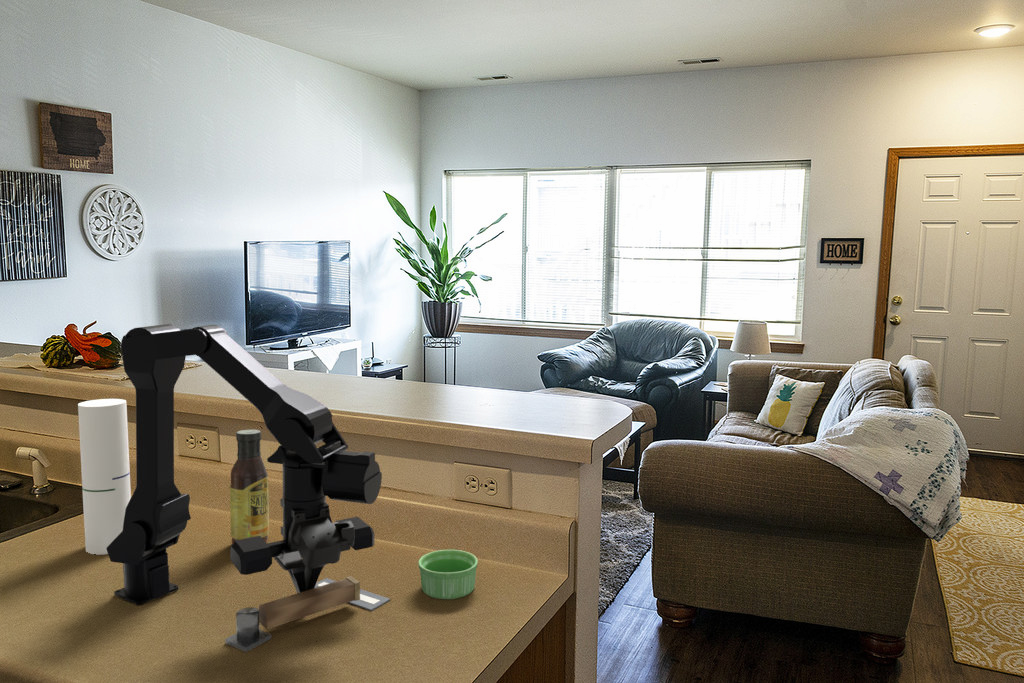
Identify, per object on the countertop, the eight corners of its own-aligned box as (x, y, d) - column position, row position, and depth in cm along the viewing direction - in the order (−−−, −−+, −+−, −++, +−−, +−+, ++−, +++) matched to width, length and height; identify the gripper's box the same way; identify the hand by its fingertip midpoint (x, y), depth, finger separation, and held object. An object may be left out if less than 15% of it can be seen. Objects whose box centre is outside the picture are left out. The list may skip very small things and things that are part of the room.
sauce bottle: (257, 552, 126) (253, 437, 124) (223, 549, 128) (219, 435, 125) (276, 538, 133) (274, 428, 131) (244, 535, 134) (241, 426, 132)
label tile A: (306, 588, 113) (306, 586, 113) (326, 579, 116) (326, 577, 116) (335, 598, 110) (335, 596, 110) (355, 588, 113) (355, 586, 113)
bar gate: (267, 630, 98) (266, 611, 97) (259, 622, 100) (258, 604, 99) (360, 599, 107) (359, 581, 106) (350, 593, 109) (350, 576, 108)
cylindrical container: (141, 544, 129) (135, 401, 127) (100, 557, 123) (92, 408, 121) (118, 535, 133) (111, 397, 131) (77, 548, 127) (69, 403, 125)
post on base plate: (225, 643, 97) (224, 614, 96) (251, 630, 100) (250, 602, 100) (245, 652, 95) (244, 622, 94) (271, 638, 98) (270, 610, 98)
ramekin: (444, 571, 120) (444, 544, 120) (489, 586, 115) (489, 558, 114) (405, 591, 113) (405, 563, 112) (451, 607, 108) (452, 578, 107)
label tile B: (340, 600, 109) (340, 598, 109) (359, 590, 113) (359, 588, 113) (371, 610, 106) (371, 609, 106) (390, 600, 109) (390, 598, 109)
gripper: (252, 527, 91) (254, 647, 93) (392, 501, 102) (390, 609, 104) (228, 499, 100) (230, 609, 102) (358, 478, 111) (358, 577, 113)
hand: (304, 601), depth 105 cm, fingers closed
